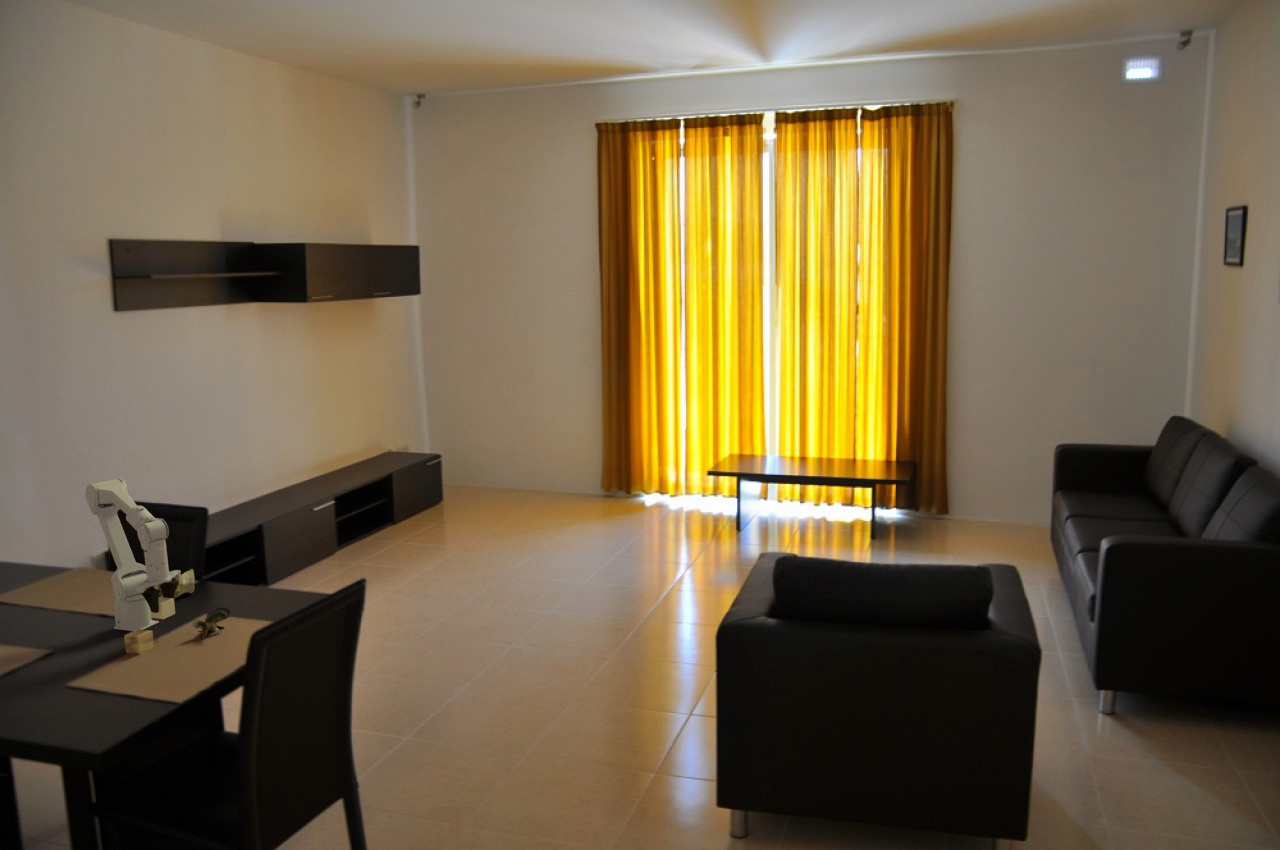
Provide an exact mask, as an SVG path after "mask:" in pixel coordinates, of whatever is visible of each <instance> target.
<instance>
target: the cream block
mask: <svg viewBox="0 0 1280 850" xmlns="http://www.w3.org/2000/svg"><path fill="white" fill-rule="evenodd" d="M175 614H176V608H175V598H174V599H172V598H165V597H162V596H160V597H159V612H158V613H154V612H151V610H150V615H151V619H157V620H158V619H159V620H165V619H166V618H169V617H172V616H173V615H175Z"/></svg>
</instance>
